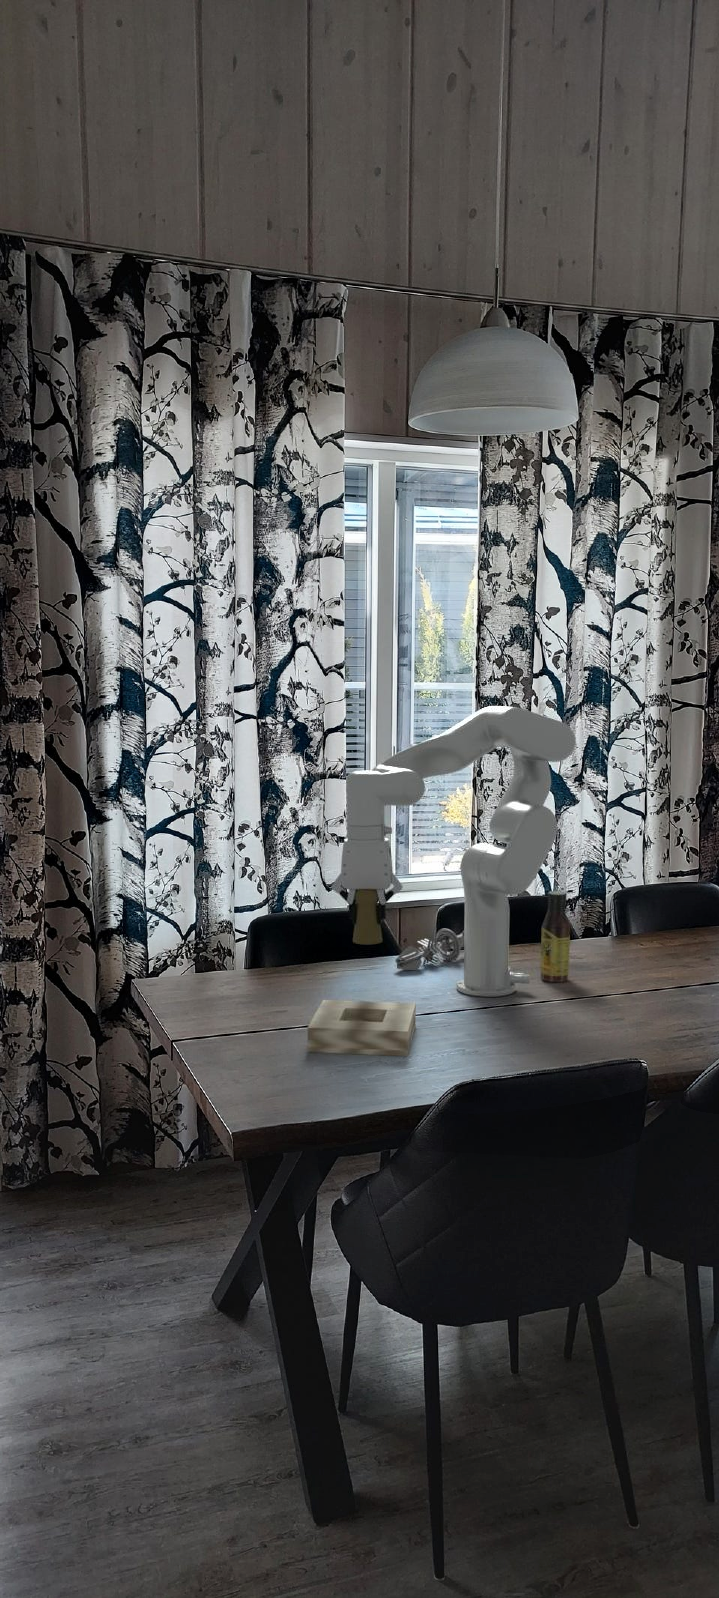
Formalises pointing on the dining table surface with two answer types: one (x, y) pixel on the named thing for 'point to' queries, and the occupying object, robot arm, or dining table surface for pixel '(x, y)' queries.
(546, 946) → the sauce bottle
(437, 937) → the spaceship
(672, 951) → the dining table surface
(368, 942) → the cork
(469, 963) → the robot arm
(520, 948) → the dining table surface
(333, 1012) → the socket block
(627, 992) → the dining table surface
